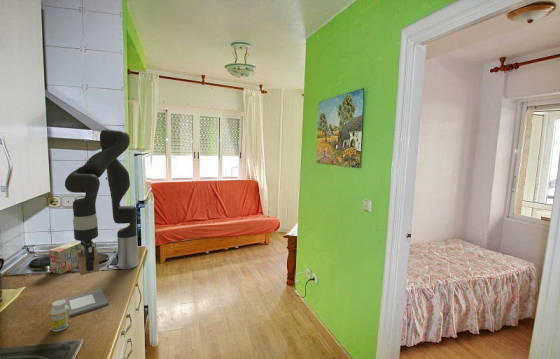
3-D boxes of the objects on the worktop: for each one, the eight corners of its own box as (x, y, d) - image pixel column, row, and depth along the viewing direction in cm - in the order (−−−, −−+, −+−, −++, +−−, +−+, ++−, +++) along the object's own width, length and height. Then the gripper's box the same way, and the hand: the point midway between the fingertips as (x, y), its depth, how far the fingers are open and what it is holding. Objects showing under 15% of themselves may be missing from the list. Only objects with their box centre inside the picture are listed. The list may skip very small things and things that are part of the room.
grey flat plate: (56, 303, 116) (56, 300, 116) (101, 290, 127) (101, 288, 127) (59, 320, 106) (59, 317, 106) (108, 304, 116) (108, 302, 116)
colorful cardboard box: (88, 256, 162) (87, 236, 161) (97, 257, 161) (96, 237, 159) (50, 272, 142) (48, 249, 140) (60, 274, 140) (58, 251, 139)
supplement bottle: (60, 332, 99) (58, 307, 98) (47, 331, 100) (45, 306, 98) (73, 323, 104) (72, 299, 103) (60, 321, 105) (59, 297, 104)
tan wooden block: (78, 269, 109) (76, 252, 108) (96, 265, 113) (95, 248, 112) (80, 275, 105) (79, 257, 104) (99, 270, 109) (98, 253, 108)
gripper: (101, 229, 103) (103, 271, 106) (93, 219, 114) (96, 258, 116) (76, 233, 98) (79, 277, 101) (71, 222, 109) (74, 263, 111)
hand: (88, 267), depth 109 cm, fingers closed on tan wooden block, 6 cm apart
